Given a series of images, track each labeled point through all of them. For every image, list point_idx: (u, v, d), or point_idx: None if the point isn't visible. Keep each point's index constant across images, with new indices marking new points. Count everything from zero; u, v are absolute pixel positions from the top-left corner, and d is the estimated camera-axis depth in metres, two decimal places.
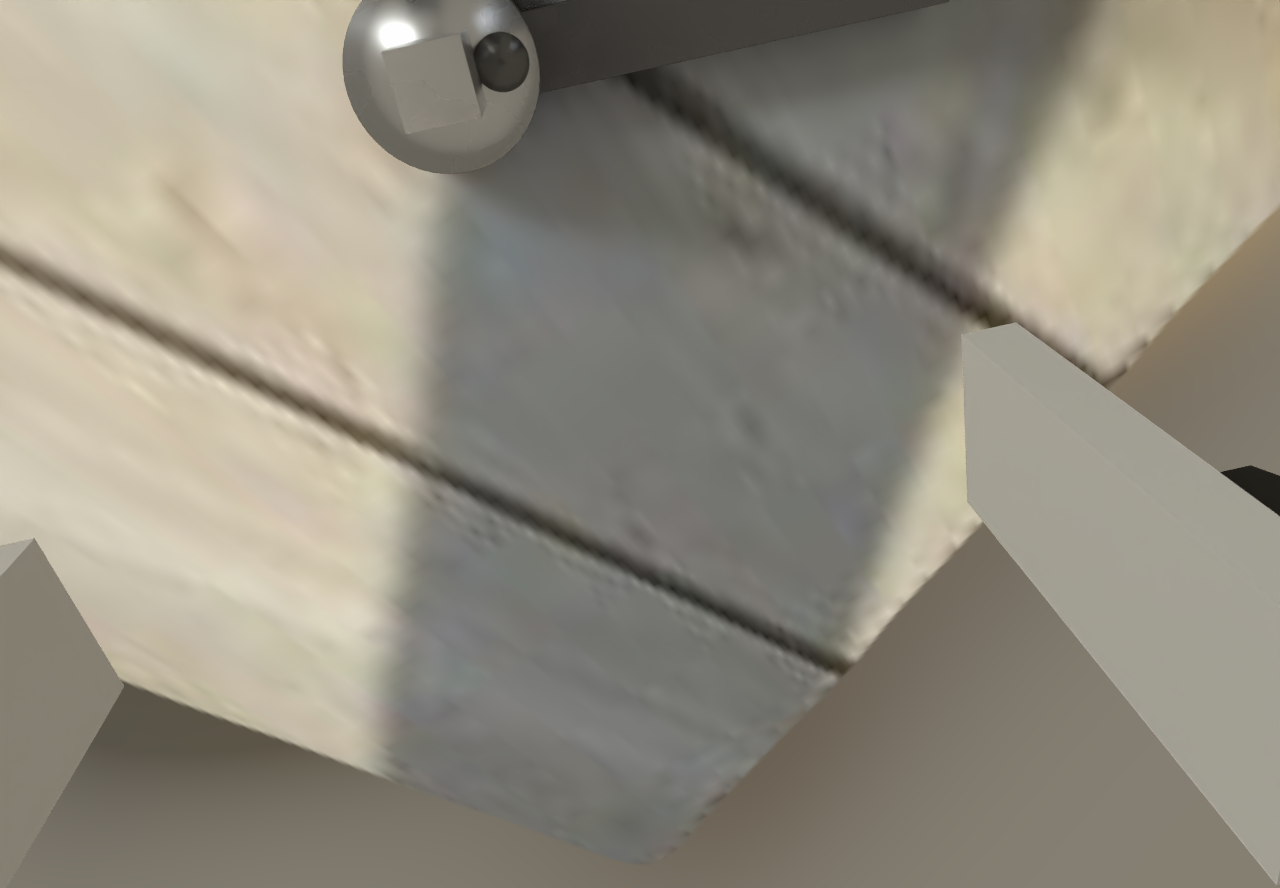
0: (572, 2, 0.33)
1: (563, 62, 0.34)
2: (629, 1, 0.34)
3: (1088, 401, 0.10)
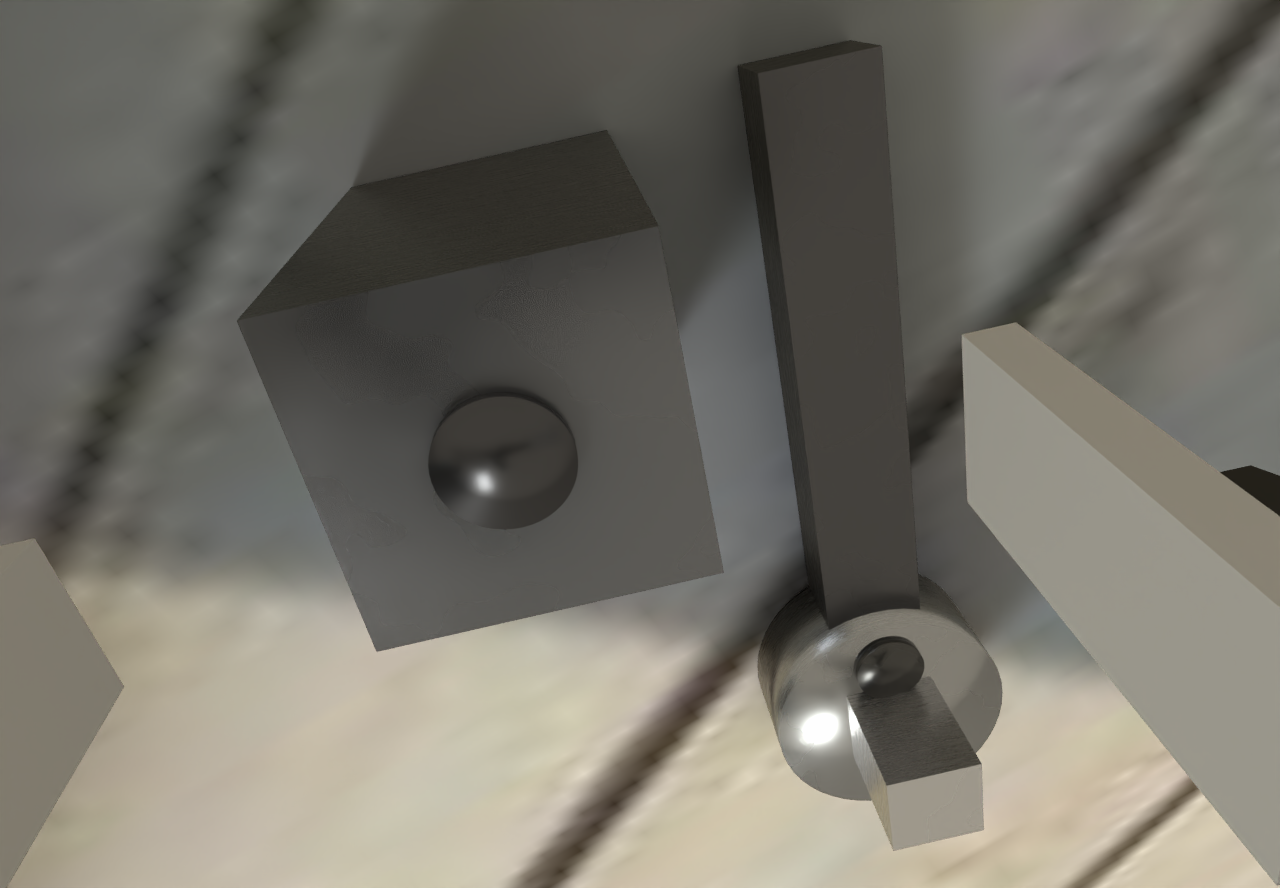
0: (823, 577, 0.27)
1: (889, 584, 0.27)
2: (829, 516, 0.26)
3: (1088, 401, 0.10)
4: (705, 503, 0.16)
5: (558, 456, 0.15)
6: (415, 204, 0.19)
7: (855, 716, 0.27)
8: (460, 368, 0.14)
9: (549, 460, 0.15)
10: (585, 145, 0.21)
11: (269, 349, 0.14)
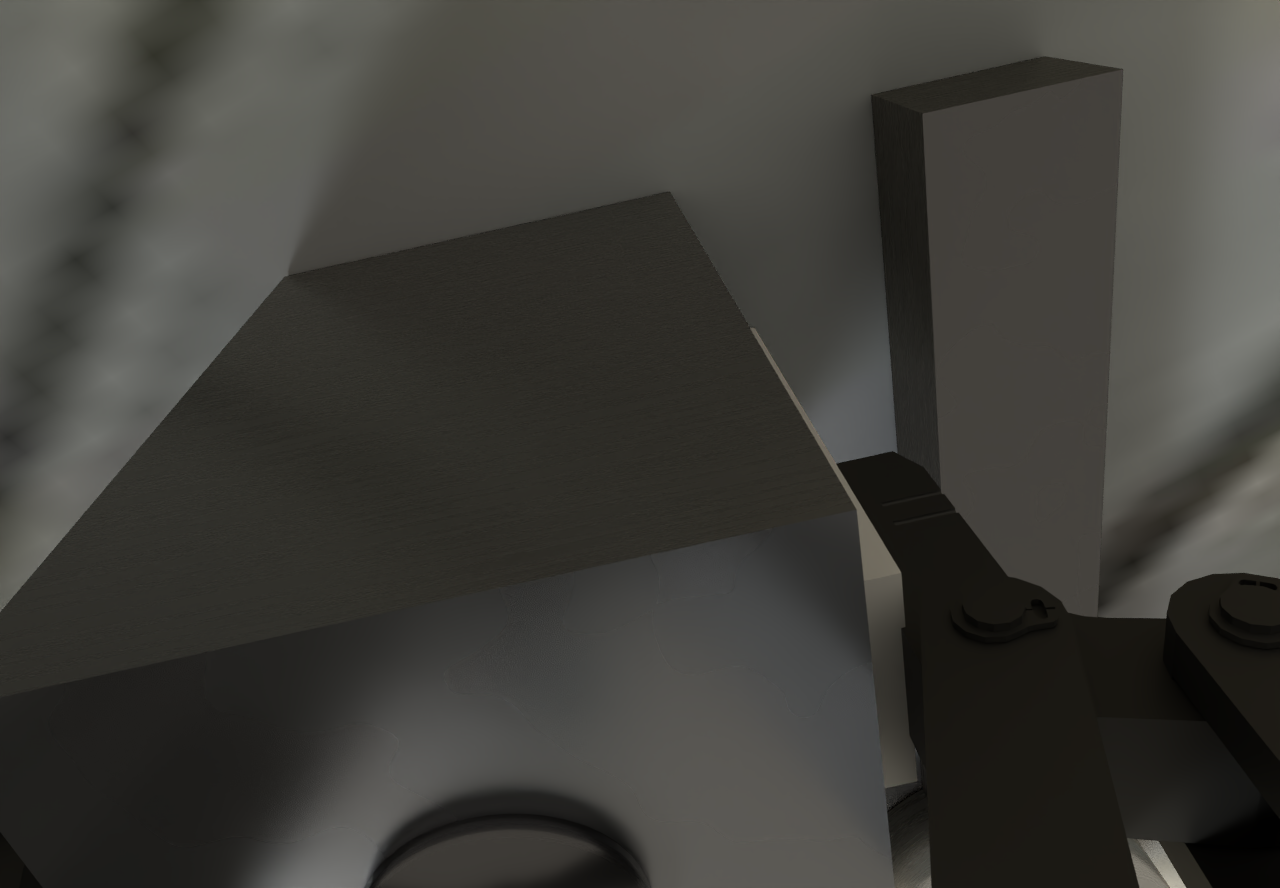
0: None
1: None
2: None
3: None
4: None
5: None
6: (365, 336, 0.11)
7: None
8: (415, 778, 0.07)
9: None
10: (640, 222, 0.14)
11: None
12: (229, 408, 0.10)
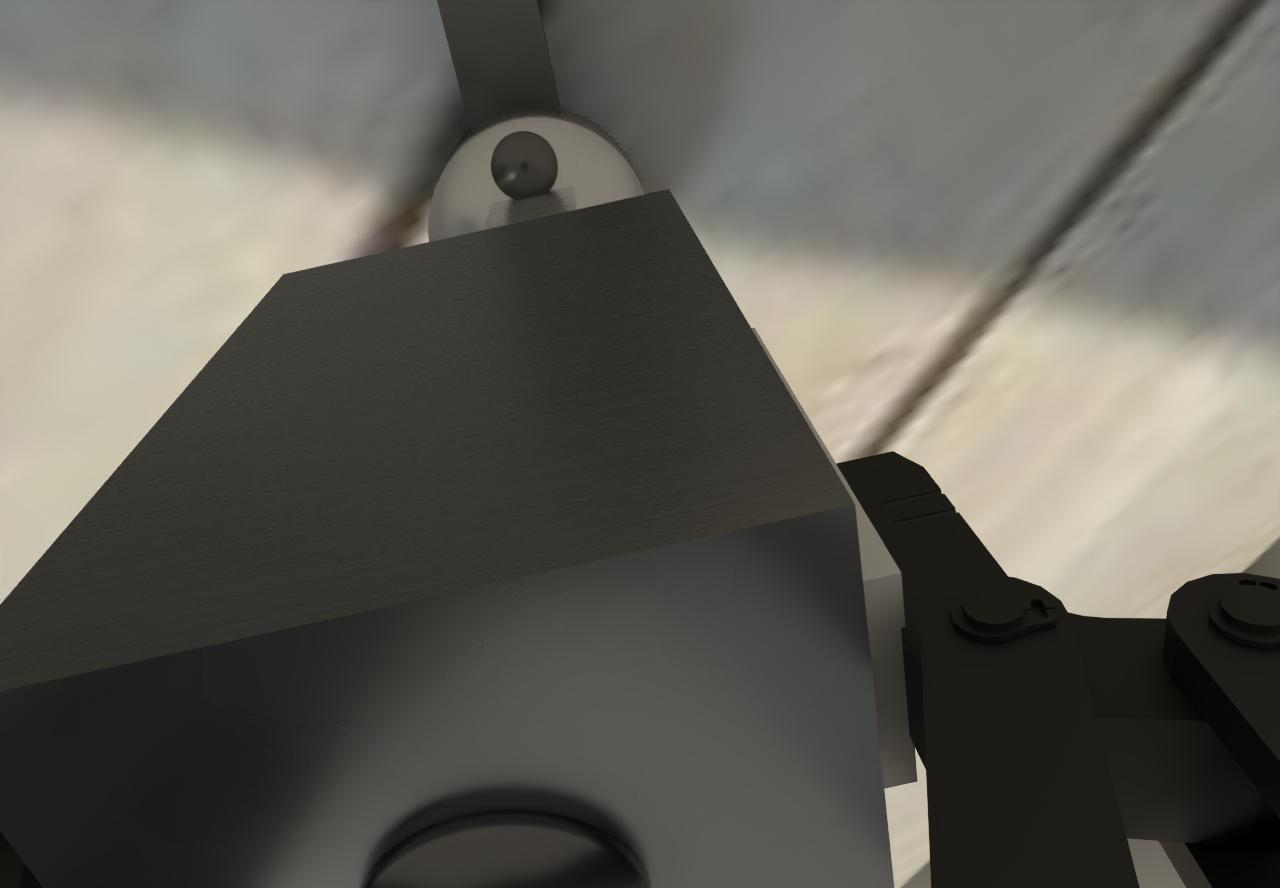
0: (456, 69, 0.27)
1: (525, 83, 0.28)
2: None
3: None
4: None
5: None
6: (364, 333, 0.11)
7: (489, 211, 0.28)
8: (413, 773, 0.07)
9: None
10: (640, 219, 0.14)
11: None
12: (227, 405, 0.10)
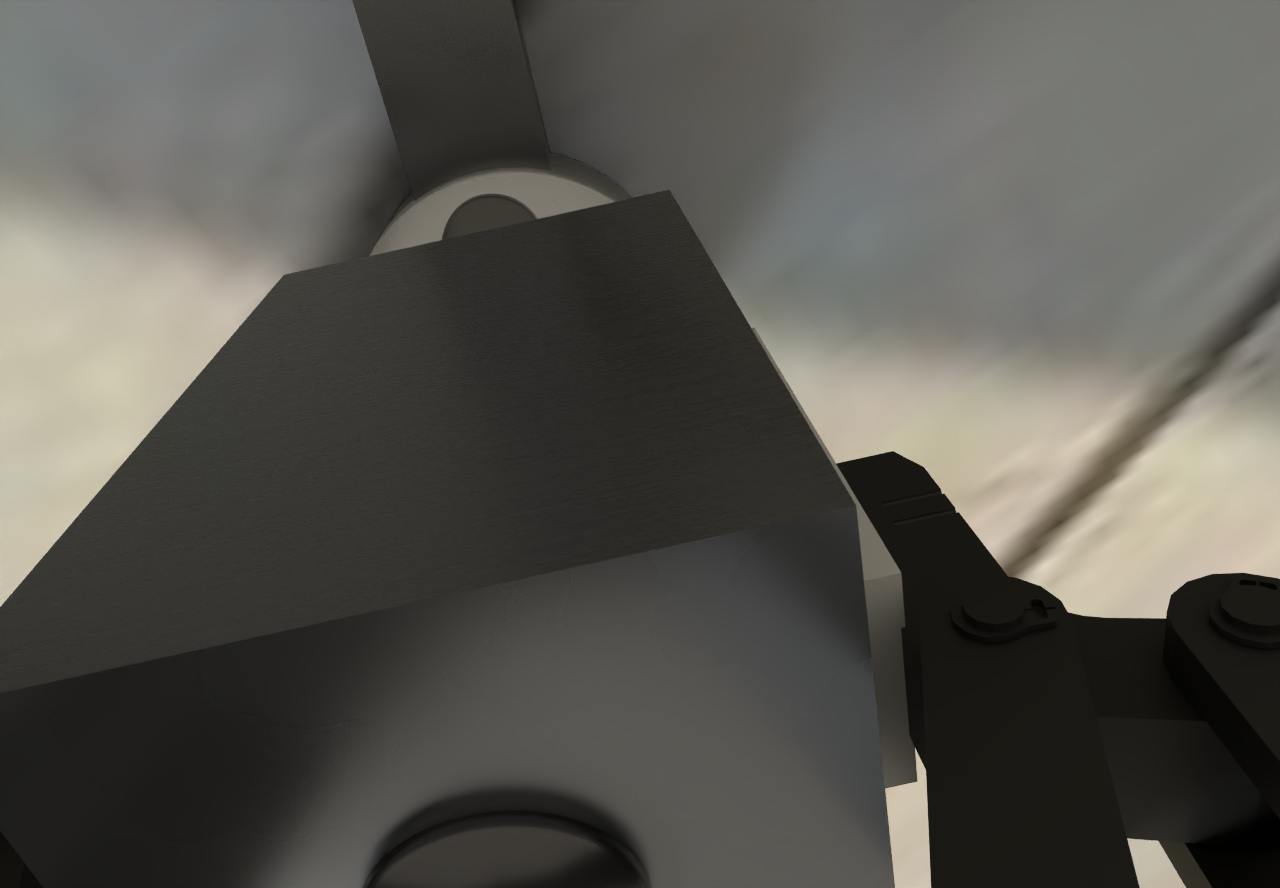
0: (385, 98, 0.18)
1: (493, 119, 0.18)
2: None
3: None
4: None
5: None
6: (365, 333, 0.11)
7: None
8: (413, 774, 0.07)
9: None
10: (640, 220, 0.14)
11: None
12: (228, 405, 0.10)
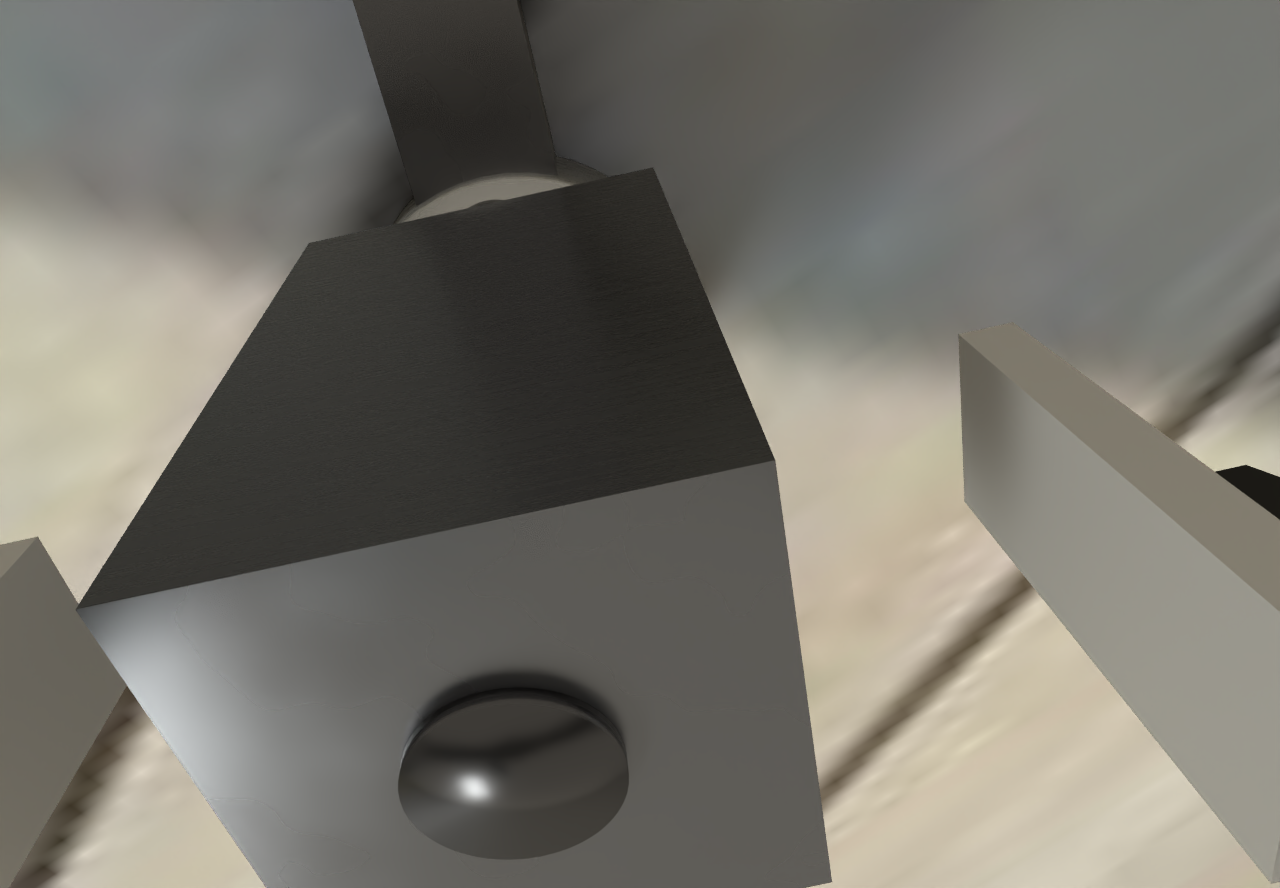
0: (386, 101, 0.17)
1: (498, 123, 0.17)
2: None
3: (1084, 401, 0.10)
4: (814, 808, 0.11)
5: (600, 774, 0.10)
6: (388, 304, 0.13)
7: None
8: (445, 659, 0.09)
9: (585, 778, 0.10)
10: (626, 198, 0.15)
11: (135, 646, 0.09)
12: (278, 368, 0.12)
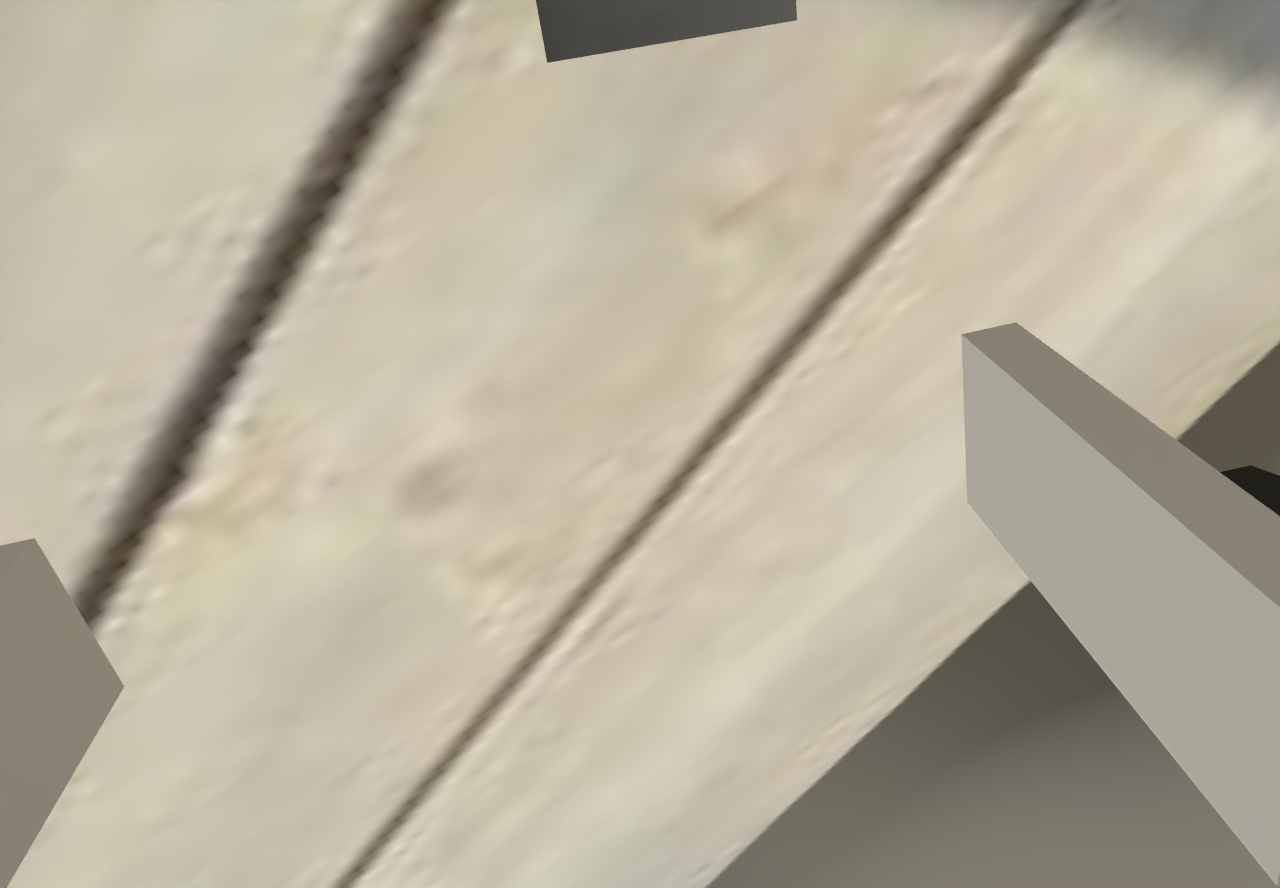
0: None
1: None
2: None
3: (1088, 401, 0.10)
4: None
5: None
6: None
7: None
8: None
9: None
10: None
11: None
12: None
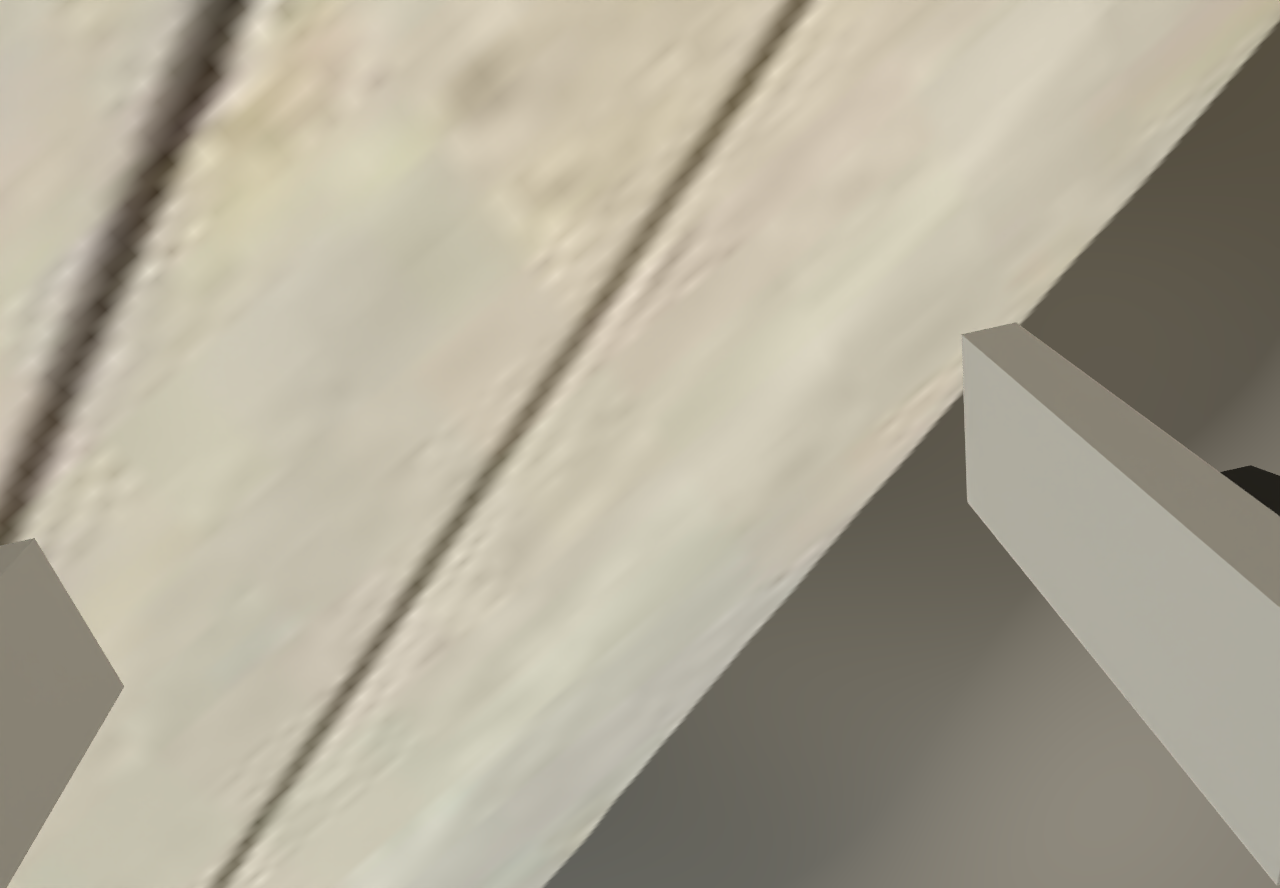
0: None
1: None
2: None
3: (1088, 401, 0.10)
4: None
5: None
6: None
7: None
8: None
9: None
10: None
11: None
12: None
